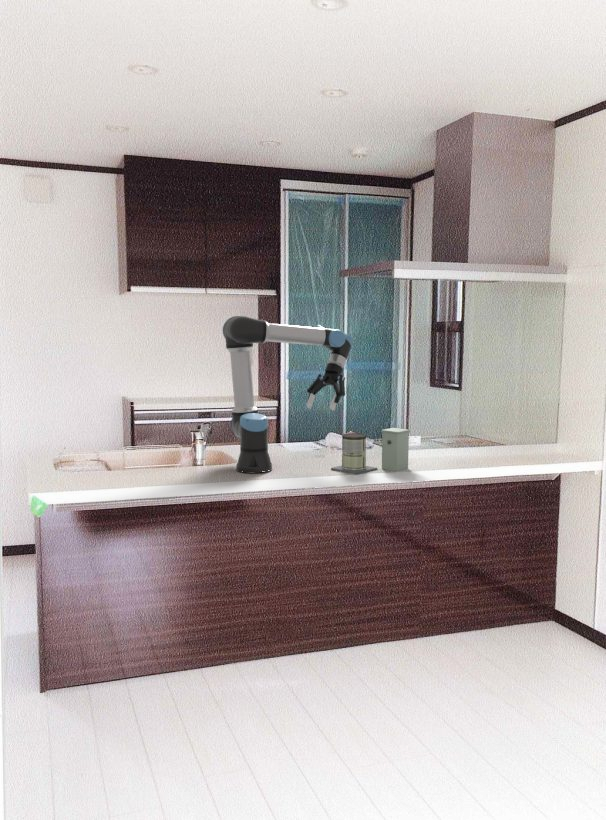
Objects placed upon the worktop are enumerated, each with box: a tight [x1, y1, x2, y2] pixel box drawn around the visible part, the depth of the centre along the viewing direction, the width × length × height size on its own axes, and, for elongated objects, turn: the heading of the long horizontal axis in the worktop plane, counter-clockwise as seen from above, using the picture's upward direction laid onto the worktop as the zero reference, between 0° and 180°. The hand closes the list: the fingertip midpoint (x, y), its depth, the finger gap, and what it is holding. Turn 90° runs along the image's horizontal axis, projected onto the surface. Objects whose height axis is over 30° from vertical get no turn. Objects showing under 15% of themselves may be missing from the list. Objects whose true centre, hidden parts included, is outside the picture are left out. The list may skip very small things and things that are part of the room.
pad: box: [330, 465, 378, 475], centre depth 312 cm, size 14×14×1 cm
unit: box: [380, 427, 411, 472], centre depth 313 cm, size 9×9×17 cm
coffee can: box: [341, 432, 367, 470], centre depth 311 cm, size 10×10×14 cm
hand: (319, 408), depth 322 cm, fingers open, 13 cm apart
